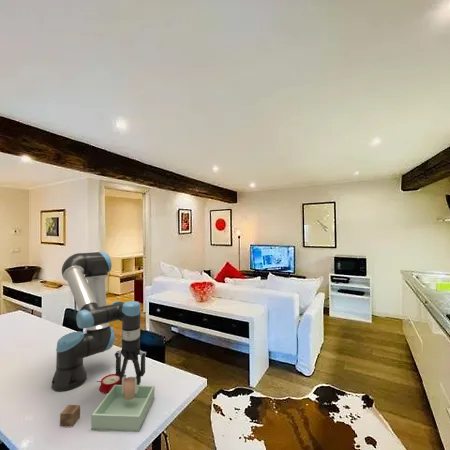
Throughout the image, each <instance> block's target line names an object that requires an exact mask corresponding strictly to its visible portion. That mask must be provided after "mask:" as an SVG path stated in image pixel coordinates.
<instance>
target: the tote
mask: <svg viewBox="0 0 450 450" xmlns="http://www.w3.org/2000/svg"><path fill="white" fill-rule="evenodd" d="M155 387H156V386H155V385H140V384H139V390H138V391H137V393H136V396H135V398H133V399H131V400H125V399H124V393H122V385H114V386H113V388H112V389H111V390H110V392H109V393H106V396H105V397H104V398H103V400H102V401H101V402H100V403H99V405H98V406H97V408H96V409H95V410H94V411H93V413H92V414H91V421H90V422H91V423H90V424H91V425H90V428H91V429H90V431H91V430H93V431H114V432H115V431H119V432H120V431H121V432H140V430H141V428H142V426H143V424H144V422H145V420H146V417H147V415H148V412H149V410H150V409H151V407H152V404H153V402H154V400H155V393H156V392H155Z"/></svg>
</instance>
